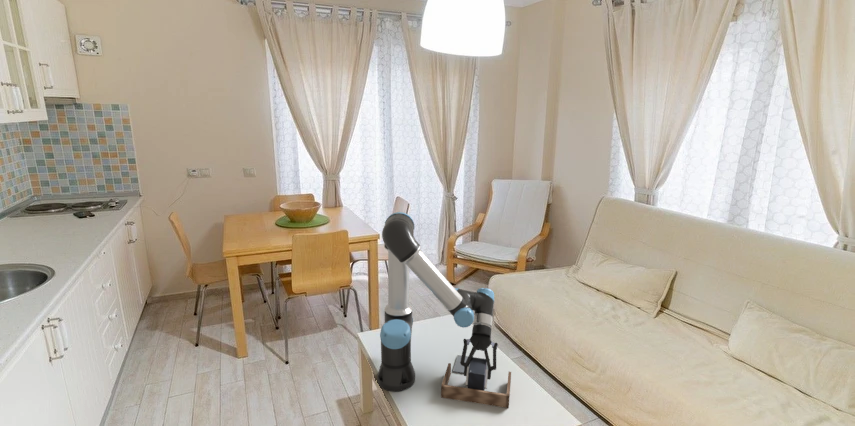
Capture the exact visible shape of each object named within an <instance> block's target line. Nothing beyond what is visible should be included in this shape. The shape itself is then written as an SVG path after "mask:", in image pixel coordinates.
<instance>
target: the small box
mask: <svg viewBox="0 0 855 426" xmlns="http://www.w3.org/2000/svg"><path fill="white" fill-rule="evenodd" d="M480 358H481V357H476V358H472V359H471V361H470V366H469V371H468V386H467V388H470V389H476V390H483V391H486V389H485V388H484V385H485V375H486V358H484V359H480Z"/></svg>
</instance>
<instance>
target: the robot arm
mask: <svg viewBox="0 0 855 426" xmlns="http://www.w3.org/2000/svg"><path fill="white" fill-rule="evenodd" d="M414 230H415V222H414V219H413V218H412V217H411V215H409V214H408V213H406V212H403V211H397V212H396V211H395V212H393V213H392V214H390V215H389V216H388V217H387V218H386V220H385V222H384V225H383V228H382V231H381V238H382V242H383V243H384V245H383V246H384V249H385V250H386V251H387V252H388V253H387V258H388V260H387V262H388V263H387V264H388V265H387V266H388V267H387V268H388V269H387V270H388V272H387V277H388V278H387V279H388V280H387V281H388V282H387V283H388V284H387V289H388V290H387V294H388V295H387V299H388V300H387V305H386V306H385V307H384V323H383V325H381V328H380V334H379V338H380V355H381V356H380V358H381V361H380V362H381V363H380V366H379V369H378V372H377V376H376V377H377V385H378V386H379V387H380V388H381V389H383V390H386V391H389V392H402V391H405V390H408V389H409V388H411V387H412V386H413V385H414V384H415V382H416V371H415V369H414V366H413V362H412V354H411V353H412V350H411V348H412V332H413V324H414V323H413V322H414V318H413V307H412V306H411V305H410V271H412V273H413V274H414V275H415V276H416V277H417V278H418V279H419V280H420V282H422V283H423V285H424V286H425V287H426V288H427V289H428V290H429V292H431V293H432V295H433V296H434V297H435V298H436V299H437V300H438V301H439V302H440V304H441V305H442V306H443V307H444V308H445V309H446V310H447V311H448V312H449V313H450V315H452V317H453V320H454V322H455V325H457V326H458V327H460V328H468V327H470V326H471V325H472V329H471V330H472V333H471V337H470V338H468V339H466V338H463V348H462V353H461V356H462V357H461V361H460V363H461V365H462V366H464V374H463V376H464V377H465V384H464V385H465V387H468V371H469V367H468V366H469V364H470V361H471V359H472V358H473V357H474V355H475V353H476V351H481V352H484V357H485V359H486V362H487V366H488V370H487V369H486V375H485V385H484V388H485V390H487V389H488V380H491V378H492V377H491V376H492V371H496V370H497V349H498V347H499V344H498V343H497V342H494V341H493V340H492V339H491V338H492V326H493V314H494V305H495V304H494V303H495V292H494V291H493V290H492V289H491V288H487V287H486V288H485V287H480V288H478V289H477V290H476V291H472V290H471V291H470V290H468V289H467V290H466V289H462V288H459V287H458V288H456V287H454V286H453V285H452V283H450V281H449V280H448V279H447V278H446V277H445V276H444V274H443V273H442V272H441V271H440V270H439V269H438V268H437V266H435V265H434V263H433V262H432V261H431V260H430V259H429V258H428V256H427V255H426V254H425V253H424V252H423V251H422V250H421V245H420V244H419V242H418V241H417V240H416V238H415V235H414ZM470 343H471V345H472V348H471V350H470V351H469V352H470V353H469V355H467V353H468V352H467V350H468V346H469V345H470ZM490 346H491V348H492V365H491V361H489V359H490V357H489V353H488V348H489V347H490ZM466 356H468V358H467V361H466V363H465V362H464V361H465V357H466Z"/></svg>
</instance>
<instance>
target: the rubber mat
mask: <svg viewBox="0 0 855 426" xmlns="http://www.w3.org/2000/svg"><path fill="white" fill-rule="evenodd" d="M468 356H469V355H466V357H465V361H464V362H465V363H466V361H467V358H468ZM461 357H462V354H461V355H460V354H457V356H456V360H455V363H454V366H453V370H452V373H454V374H455V373H456V374H461V375H462V374H463V375H464V366H462V365H461V363H460V361H461ZM473 358H477V357H475V356H473ZM479 358H480V359H485V358H481V357H479ZM490 360H491V359H490V358H489V361H490ZM490 362H491V361H490ZM469 366H470V364H469ZM469 366H468V367H469ZM486 369H487V370H488V366H487V362H486Z"/></svg>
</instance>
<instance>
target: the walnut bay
mask: <svg viewBox="0 0 855 426" xmlns="http://www.w3.org/2000/svg"><path fill="white" fill-rule="evenodd" d="M451 374H452V363H450V362H449V363H447V367H446V370H445V373H444V376H443V378H442V382H441V385H440V398H442V399H448V400H453V401H454V400H456V401H461V402H467V403H472V404H473V403H474V404H479V405H484V406H485V405H487V406H493V407H499V408H500V407H501V408H505V409H506V408H507V409H509V408H510V407H509V405H510V395H511V394H510V393H511V382H512V381H511V380H512V371H508V374H507V376H508V377H507V388H506V393H504V392H503V393H501V392H497V391H496V392H495V391H488V390H484V391H483V390H476V389H470V388H468V387H462V386H457V385H456V386H455V385H449V382H450V379H451Z"/></svg>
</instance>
